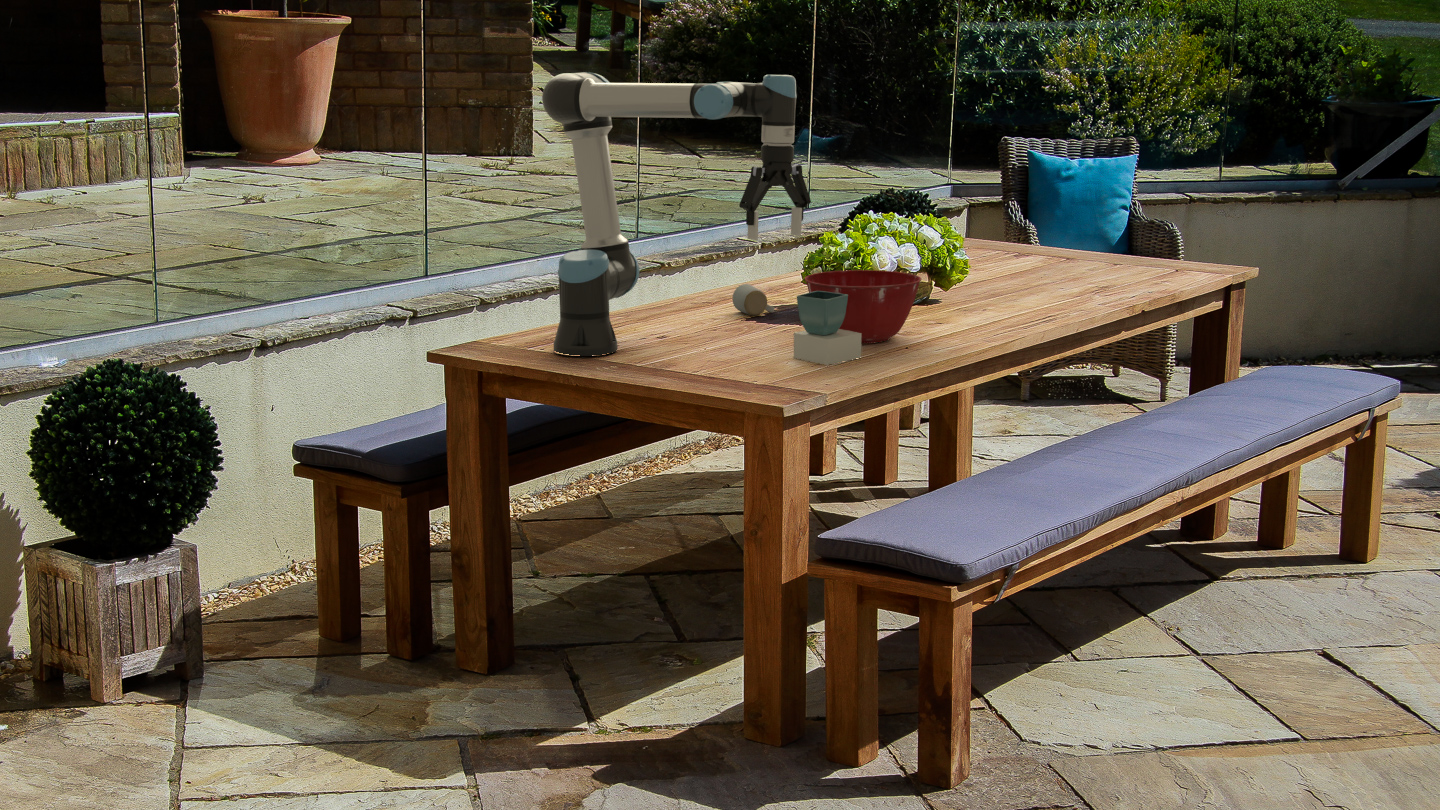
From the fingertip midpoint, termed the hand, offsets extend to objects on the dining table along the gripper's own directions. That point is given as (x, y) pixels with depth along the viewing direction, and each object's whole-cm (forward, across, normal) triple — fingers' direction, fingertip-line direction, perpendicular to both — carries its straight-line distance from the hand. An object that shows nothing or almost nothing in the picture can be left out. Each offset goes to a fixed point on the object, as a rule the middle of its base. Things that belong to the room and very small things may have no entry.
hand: (774, 237), depth 334 cm
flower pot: (+21, +4, -13) cm, 25 cm away
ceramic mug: (+28, +32, +42) cm, 60 cm away
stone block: (+27, +6, -13) cm, 31 cm away
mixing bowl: (+27, +28, -2) cm, 39 cm away
